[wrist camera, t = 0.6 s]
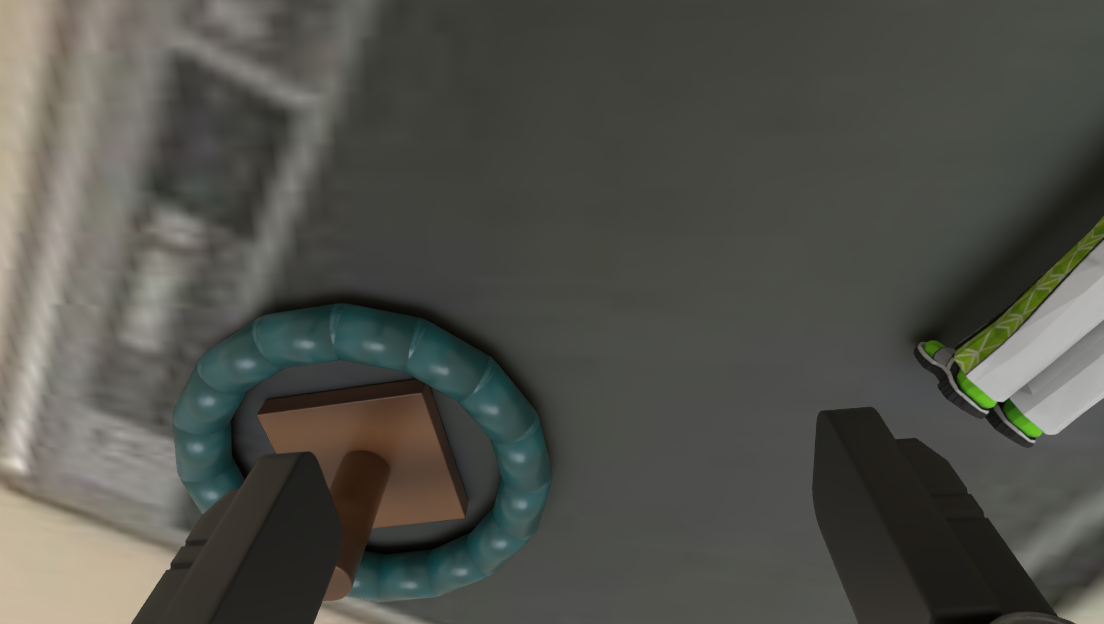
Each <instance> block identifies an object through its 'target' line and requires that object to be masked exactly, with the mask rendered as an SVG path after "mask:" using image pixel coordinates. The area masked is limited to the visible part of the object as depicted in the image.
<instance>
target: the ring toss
mask: <svg viewBox="0 0 1104 624" xmlns="http://www.w3.org/2000/svg"><path fill="white" fill-rule="evenodd" d="M257 417H258V419H259V421H260V423H261V425H262V427H263V429H264V431H265V433H266V435H267V437H268V439H269V441H270V443H271V445H272V447H273V449H274V451H275V453H276V454H280V453H292V452H305V451H309V452H312V453H313V454H314V455H315V456H316V458H317V460H318V462H319V464H320V467H321V470H322V472H323V475H324V478H325V480H326V483H327V486H328V488H329V491H330V494H331V496H332V499H333V501H334V504H335V507H336V509H337V512H338V515H339V518H340V521H341V526H342V547H341V553H340V557H339V560H338V562H337V565H336V568H335V570H334V573H333V575H332V578H331V580H330V583H329V585H328V588H327V591H326V593H325V596H324V598H323V601H335V600H339V599H342V598H344V597H345V596H347V595H348V594H349V593H350V591H351V589H352V587H353V584H354V581H355V578H356V575H357V572H358V569H359V566H360V563H361V560H362V557H363V554H364V551H365V548H366V545H367V542H368V539H369V536H370V533H371V530H372V528H381V527H390V526H399V525H408V524H417V523H426V522H435V521H444V520H453V519H462V518H465V516H466V511H467V506H468V499H467V496H466V493H465V490H464V487H463V484H462V481H461V478H460V475H459V472H458V469H457V466H456V463H455V460H454V457H453V454H452V451H451V448H450V446H449V443H448V440H447V437H446V434H445V431H444V428H443V425H442V422H441V419H440V416H439V413H438V410H437V407H436V404H435V401H434V398H433V395H432V392H431V389H430V386H429V385H427V384H425V383H424V382H422V381H420V380H418V379H414V380H407V381H400V382H393V383H385V384H378V385H371V386H363V387H356V388H349V389H342V390H334V391H327V392H320V393H312V394H305V395H298V396H291V397H283V398H276V399H269V400H266V401H265V403H264V404H263V406H262V407H261V409H260V411H259V412H258V414H257Z"/></svg>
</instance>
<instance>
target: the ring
mask: <svg viewBox="0 0 1104 624" xmlns="http://www.w3.org/2000/svg"><path fill="white" fill-rule="evenodd" d="M336 360H345V361H350V362H355V363H361V364H366V365H371V366H377V367H382V368H387V369H393V370H398V371H403V372H405V373H407V374H409V375H411V376H413V377H414V378H416V379H418V380H420V381H422V382H424V383H425V384H427V385H429V386H431V387H433V388H435V389H436V390H438V391H440V392H442V393H444V394H446V395H447V396H449V397H451V398H453V399H455V400H457V401H458V402H459V404H460V405H461V406H462V407H463V408H464V409H465V410H466V411H467V413H468V414H469V415H470V416H471V417H472V418H473V419H474V421H475V422H476V423H477V424H478V425H479V426H480V427H481V428H482V430H483V431H484V432H485V433H486V434H487V435H488V436H489V438H490V439H491V442H492V445H493V449H494V452H495V455H496V459H497V462H498V465H499V469H500V472H501V480H500V484H499V489H498V493H497V497H496V501H495V506H494V507H493V509H492V510H491V511H490V512H489V513H488V514H487V515H486V516H485V517H484V518H483V520H482V521H481V522H480V523H479V524H478V525H477V526H476V527H475V528H474V529H473V531H472V532H470V533H468V534H466V535H464V536H461V537H459V538H457V539H455V540H453V541H450V542H448V543H446V544H444V545H442V546H439V547H437V548H435V549H431V550H422V551H412V552H403V553H393V554H381V553H375V552H369V551H364V554H363V557H362V560H361V563H360V566H359V569H358V572H357V575H356V578H355V581H354V584H353V587H352V589H351V591H350V593H349V594H348V595H347V596H346V597H352V598H358V599H364V600H370V601H376V602H388V601H398V600H409V599H419V598H429V597H439V596H443V595H446V594H448V593H451V592H453V591H456V590H458V589H460V588H463V587H465V586H467V585H470V584H472V583H474V582H477V581H479V580H481V579H484V578H486V577H488V576H491V575H493V574H495V573H496V572H498V571H499V570H500V569H501V568H502V567H503V566H504V565H505V564H506V563H507V562H508V561H509V560H510V559H511V558H512V557H513V556H514V555H515V554H516V553H517V552H518V551H519V550H520V549H521V548H522V547H523V545H524V544H525V543H526V542H527V541H528V540H529V539H530V538H531V537H532V536H533V535H534V534H535V532H536V531H537V528H538V526H539V523H540V519H541V516H542V512H543V509H544V505H545V502H546V498H547V495H548V491H549V488H550V484H551V481H552V468H551V464H550V460H549V456H548V452H547V448H546V444H545V440H544V436H543V432H542V428H541V424H540V420H539V417H538V414H537V412H536V410H535V409H534V408H533V406H532V405H531V404H530V403H529V401H528V400H527V399H526V398H525V397H524V395H523V394H522V393H521V392H520V391H519V389H518V388H517V387H516V386H515V384H514V383H513V382H512V381H511V380H510V378H509V377H508V376H507V375H506V373H505V372H504V371H503V370H502V369H501V367H500V366H499V365H498V364H497V363H496V361H495V360H494V359H493V358H492V357H490V356H489V355H487V354H485V353H484V352H482V351H480V350H478V349H477V348H475V347H473V346H471V345H470V344H468V343H466V342H464V341H463V340H461V339H459V338H457V337H456V336H454V335H452V334H450V333H449V332H447V331H445V330H443V329H442V328H440V327H438V326H436V325H435V324H433V323H431V322H429V321H428V320H425V319H423V318H419V317H414V316H409V315H404V314H399V313H394V312H389V311H383V310H378V309H373V308H368V307H363V306H358V305H353V304H347V303H337V304H330V305H324V306H317V307H311V308H304V309H298V310H291V311H285V312H278V313H272V314H267V315H264V316H262V317H260V318H258V319H256V320H255V321H253V322H251V323H250V324H248V325H247V326H245V327H244V328H242V329H241V330H239V331H237V332H236V333H234V334H233V335H231V336H230V337H228V338H227V339H225V340H223V341H222V342H220V343H219V344H217V345H216V346H214V347H213V348H211V349H209V350H208V351H207V352H206V353H204V354H203V355H202V357H201V358H200V359H199V361H198V363H197V365H196V367H195V369H194V371H193V373H192V375H191V377H190V378H189V380H188V382H187V384H186V386H185V388H184V390H183V392H182V394H181V396H180V398H179V400H178V402H177V404H176V406H175V408H174V411H173V431H174V442H175V453H176V464H177V472H178V475H179V477H180V479H181V481H182V482H183V484H184V486H185V487H186V489H187V491H188V492H189V494H190V495H191V497H192V499H193V500H194V502H195V504H196V505H197V507H198V509H199V510H200V512H201V513H202V515H203V514H204V513H205V512H206V511H207V510H208V509H209V508H210V507H212V506H213V505H214V504H215V503H216V502H217V501H218V500H219V499H221V498H222V497H223V496H224V495H225V494H226V493H227V492H228V491H230V490H231V489H239V488H240V487H241V486H242V484H243V482H244V481H245V479H244V477H243V475H242V473H241V471H240V470H239V468H238V466H237V464H236V462H235V460H234V459H233V457H232V441H231V419H232V417H233V416H234V414H235V412H236V410H237V409H238V407H239V405H240V403H241V401H242V400H243V398H244V396H245V394H246V393H247V391H248V390H249V389H251V388H252V387H254V386H256V385H257V384H259V383H261V382H262V381H264V380H266V379H267V378H269V377H271V376H272V375H274V374H276V373H277V372H279V371H281V370H282V369H284V368H287V367H294V366H301V365H308V364H315V363H322V362H329V361H336Z"/></svg>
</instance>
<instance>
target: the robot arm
mask: <svg viewBox="0 0 1104 624" xmlns="http://www.w3.org/2000/svg"><path fill="white" fill-rule="evenodd" d="M812 490H813V502H814V509H815V514H816V518H817V522H818V525H819V528H820V530H821V533H822V535H823V538H824V540H825V543H826V545H827V548H828V550H829V552H830V555H831V557H832V560H833V562H834V565H835V567H836V570H837V572H838V575H839V577H840V579H841V582H842V584H843V587H844V589H845V592H846V594H847V597H848V599H849V602H850V604H851V606H852V609H853V611H854V614H855V616H856V619H857V621H858V624H1075V623H1073V622H1071V621H1068V620H1066V619H1063V618H1060V617H1058V616H1057V614H1056V613H1055V612H1054V611H1053V609H1052V608H1051V607H1050V605H1049V604H1048V602H1047V601H1046V600H1045V598H1044V597H1043V595H1042V594H1041V593H1040V591H1039V590H1038V588H1037V587H1036V585H1035V584H1034V583H1033V581H1032V580H1031V578H1030V577H1029V576H1028V574H1027V573H1026V571H1025V570H1024V568H1023V567H1022V566H1021V564H1020V563H1019V561H1018V560H1017V559H1016V557H1015V556H1014V554H1013V553H1012V551H1011V550H1010V549H1009V547H1008V546H1007V544H1006V543H1005V542H1004V540H1003V539H1002V537H1001V536H1000V534H999V533H998V532H997V530H996V529H995V527H994V526H993V525H992V523H991V522H990V520H989V519H988V518H985V517H984V514H983V510H982V509H981V508H980V506H979V505H978V503H977V502H976V501H975V499H974V498H973V496H972V495H971V494H968V493H967V488H966V486H965V485H964V484H963V482H962V481H961V479H960V478H959V476H958V475H957V474H956V472H955V471H954V469H953V468H952V467H951V465H950V464H949V462H948V461H947V460H946V459H944V458H943V457H942V456H940V455H939V454H937V453H936V452H935V451H933V450H932V449H930V448H929V447H928V446H926V445H925V444H923V443H922V442H921V441H919V440H918V439H916V438H909V439H896V440H895V438H894V437H893V435H892V434H891V432H890V431H889V429H888V427H887V426H886V424H885V423H884V421H883V419H882V418H881V416H880V415H879V413H878V412H877V410H875V409H874V408H873V407H862V408H850V409H837V410H825V411H820V412H819V414H818V417H817V424H816V439H815V454H814V470H813V486H812ZM185 542H186V545H185V547H181V549H180V550H179V552H178V553H177V555H176V556H175V558H174V559H173V561H172V562H171V564H170V565H171V568H170V570H166V571H165V573H164V574H163V576H162V578H161V579H160V581H159V582H158V584H157V585H156V587H155V588H154V590H153V591H152V593H151V594H150V596H149V597H148V599H147V600H146V602H145V603H144V605H143V606H142V608H141V609H140V611H139V613H138V614H137V616H136V617H135V619H134V620H133V622H132V623H131V624H314V621H315V619H316V616H317V614H318V611H319V609H320V606H321V603H322V601H323V598H324V596H325V593H326V591H327V588H328V585H329V583H330V580H331V578H332V575H333V573H334V570H335V568H336V565H337V562H338V560H339V557H340V553H341V547H342V526H341V521H340V518H339V515H338V512H337V509H336V507H335V504H334V501H333V499H332V496H331V494H330V491H329V488H328V486H327V483H326V480H325V478H324V475H323V472H322V470H321V467H320V464H319V462H318V460H317V458H316V456H315V455H314V454H313V453H312V452H309V451H305V452H292V453H280V454H268V455H263V456H261V457H260V458H259V459H258V460H257V462H256V463H255V465H254V466H253V468H252V469H251V471H250V473H249V474H248V476H247V477H246V479H245V481H244V482H243V484H242V486H241V487H240V488H239V489H231V490H230V491H228V492H227V493H226V494H225V495H224V496H223V497H222V498H221V499H219V500H218V501H217V502H216V503H215V504H214V505H213V506H212V507H210V508H209V509H208V510H207V511H206V512H205V513H204V514H203V515H202V517H201V518H200V520H199V521H198V523H197V524H196V526H195V527H194V529H193V530H192V532H191V533H190V535H189V536H188V538H187V539H186V541H185Z"/></svg>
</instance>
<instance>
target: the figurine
mask: <svg viewBox="0 0 1104 624" xmlns="http://www.w3.org/2000/svg"><path fill="white" fill-rule="evenodd" d="M914 355H915V357H916V359H917V360H918V361H919V363H920V364H921V365H922V366H923V368H925V369H926V370H928V371H930V372H931V373H933V374H934V375H936V377H937V378H938V380H939V381H940V383H939V384H938V388H939V390H940V391H941V392H942V394H943V395H944V396H945V397H946V399H947V400H949V401H950V402H952V403H953V404H955V405H956V406H958V407H959V408H960V409H962V410H964V411H965V412H967V413H969V414H971V415H973V416H974V417H976V418H980V419H982V418H984V417H985V418H986V419H987V420H988V421H989V423H990V424H991V425H992V426H993V427H994V429H995V430H997V431H998V432H1000V433H1001V434H1003V435H1004V436H1006V437H1007V438H1009V439H1010V440H1012V441H1014V442H1016V443H1017V444H1019V445H1021V446H1023V447H1027V448H1029V447H1031V446H1033V444H1034V443H1035V441H1036V439H1035V437H1037V436H1040V435H1041V433H1042V432H1044V433H1045V434H1047V435H1054V434H1058V433H1059V432H1060V431H1061V430H1063V429H1064V428H1065V427H1066V426H1068V425H1069V424H1070V423H1071V422H1073V421H1074V420H1075V419H1076V418H1078V417H1079V416H1080V415H1081V414H1083V413H1084V412H1085V411H1086V410H1088V409H1089V408H1090V407H1092V406H1093V405H1094V404H1096V403H1097V402H1099V401H1100V400H1101V399H1103V398H1104V215H1103V217H1102V218H1101V219H1100V220H1099V221H1098V222H1097V224H1096V225H1095V226H1094V227H1093V228H1092V230H1090V231H1089V232H1088V233H1087V234H1086V235H1085V236H1084V237H1083V238H1082V239H1081V240H1080V241H1079V242H1078V243H1077V244H1076V245H1075V246H1074V247H1073V248H1071V249H1070V250H1069V251H1068V252H1067V253H1066V254H1065V255H1064V256H1063V257H1062V258H1061V259H1060V260H1059V261H1058V262H1057V263H1056V264H1055V265H1054V266H1052V267H1051V268H1050V269H1049V270H1048V271H1047V272H1046V273H1045V274H1044V275H1042V276H1041V277H1040V278H1039V279H1038V280H1037V281H1036V282H1034V283H1033V284H1032V285H1031V286H1030V287H1029V288H1028V289H1026V290H1025V291H1024V292H1023V293H1022V294H1021V295H1020V296H1018V297H1017V298H1016V299H1015V300H1014V301H1013V302H1012V303H1010V304H1009V305H1008V306H1007V307H1006V308H1005V309H1004V310H1002V311H1001V312H1000V313H999V314H998V315H997V316H996V317H994V318H993V319H992V320H990V321H989V322H988V323H986V324H985V325H983V326H982V327H981V328H979V329H978V330H977V331H975V332H974V333H972V334H971V335H970V336H968V337H967V338H966V339H964V340H963V341H961V342H960V343H959V344H957V345H956V346H955V347H954V349H953V348H951V347H945V346H944V345H942V344H941V343H939V342H938V341H929V342H920V343H919V344H918V345H917V347H916V348H915V350H914Z"/></svg>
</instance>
